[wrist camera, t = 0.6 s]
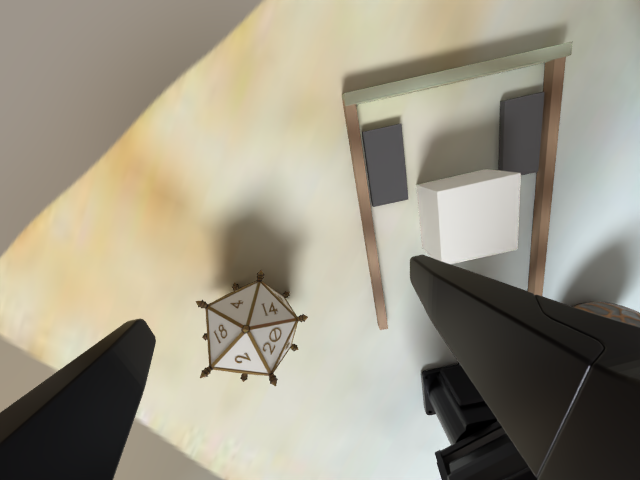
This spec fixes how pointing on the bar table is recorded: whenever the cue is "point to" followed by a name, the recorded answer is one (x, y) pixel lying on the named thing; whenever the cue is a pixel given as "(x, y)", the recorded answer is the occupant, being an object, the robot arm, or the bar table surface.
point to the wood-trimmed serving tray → (552, 82)
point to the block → (470, 215)
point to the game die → (249, 330)
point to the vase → (612, 311)
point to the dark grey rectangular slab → (514, 148)
